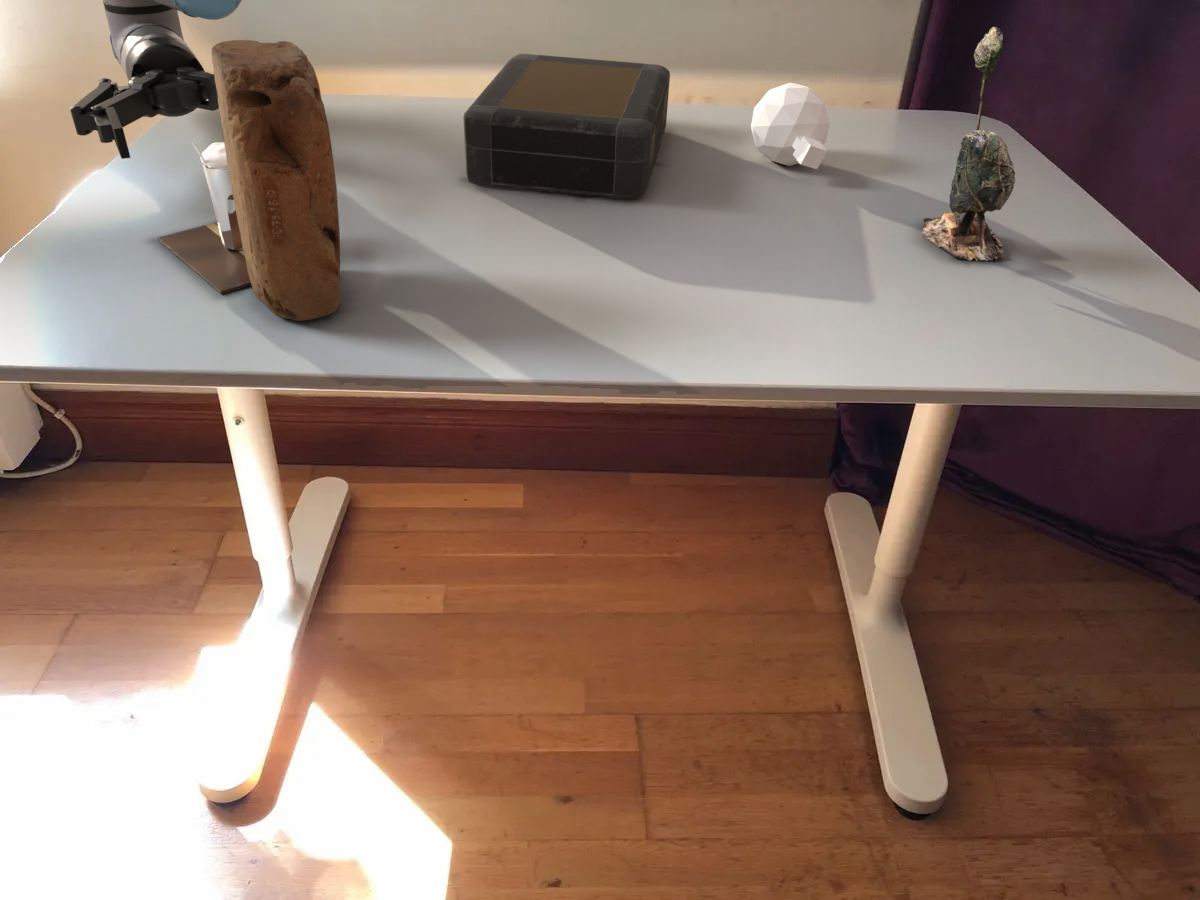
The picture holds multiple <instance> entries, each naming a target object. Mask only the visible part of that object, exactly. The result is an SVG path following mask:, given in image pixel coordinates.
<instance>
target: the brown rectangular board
mask: <svg viewBox="0 0 1200 900" xmlns="http://www.w3.org/2000/svg"><path fill="white" fill-rule="evenodd" d="M157 240H158V241H159V243H160V244H162V245H163V246H164V247H165V248H167V249H168V250H169V251H170V252H171V253H172V254H173V255H175V256H176V257H177V258H178V259H179V260H181V261H182V262H183V263H184V264H185V265H187V266H188V267H189V269H191V271H193V272H194V273H195V274H197V275H198V276H199V277H200V278H201V279H203V281H205V282H206V283H207V284H209V285H210V286H211V287H212V288H213V289H215V291H217V292H218V293H219V294H220V295H223V294H227V293H230V292H234V291H237V290H240V289H244V288H247V287H252V285H251V281H250V278H249V274H248V270H247V265H246V260H245V255H244V251H243V250H233V249H229V248H226V247H225V246H224V244H223V243H222V240H221V235H220V231H219V227H218V223H217V221H216V222H213V223H208V224H205V225H201V226H197V227H192V228H190V229H185V230H182V231H177V232H174V233H170V234H166V235H162V236H158V237H157Z"/></svg>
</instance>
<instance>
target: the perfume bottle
mask: <svg viewBox="0 0 1200 900" xmlns="http://www.w3.org/2000/svg"><path fill="white" fill-rule="evenodd" d="M830 125H831V121H830V116H829V112H828V107H827V104H826V101H825V99H824V98H822V97H821V96H820V95H819V94H817V93H816V91H815V90H813V89H812V88H811V86H810V87H809V86H806V85H802V84H798V83H794V82H789V83H788V82H787V83H785V84H782V85H779V86H777V87H773V88H771V89H768V91H767V92H766V93H765V94H764V95H763V97H762V98H761V99H760V101H759V102H757V104H756V105H755V106H754V108H753V112H752V119H751V124H750V128H751V133H752V137H753V138H752V139H753V142H754V146H755V149H756V150H757V151H758V152H760V153H761V154H762V155H763V156H765V157H766V158H767V159H768V160H770V161H772V162H775V163H777V164H781V165H784V166H787V167H792V166H795V165H800V166H804V167H808V168H811V169H814V170H818V169H819V167H820V165H821V164H822V161H823V160H824V158H825V156H826V154H827V153H828V149H827V148H826V147H825V146H824V145H825V143H826V142H827V138H828V134H829V131H830V130H829V129H830Z"/></svg>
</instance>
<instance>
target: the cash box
mask: <svg viewBox="0 0 1200 900" xmlns="http://www.w3.org/2000/svg"><path fill="white" fill-rule="evenodd" d="M670 80H671V71H670V70H669V69H668V68H666V67H665V66H663V65H661V64H656V63H655V64H654V63H653V64H652V63H644V62H643V63H642V62H630V61H617V60H607V59H593V58H580V57H569V56H557V55H547V54H546V55H545V54H544V55H543V54H531V53H519V54H516V55H514V56H512V57H511V58H510V59H509V60H508V61H507V62H506V63H505V64H504V66H503V67H502V68H501V70H499V72H498V73H497V74H496V76H494V77H493V79H492V80H491V81H490V82H489V84H488V85H487V86H486V87H485V88H484V89H483V90H482V91H481V93H480V94H479V96H478V97H476V99H475V100H474V101H473V102H472V104H471V105H470V106H468V109H467V110H466V111H465V112H464V113H463V133H464V134H463V136H464V153H465V154H464V157H465V158H464V159H465V172H466V173H465V175H466V178H467V181H468V182H470V183H471V184H474V185H476V186H477V185H478V186H484V187H494V188H504V189H514V190H524V191H533V192H534V191H535V192H544V193H545V192H546V193H555V194H567V195H576V196H586V197H587V196H588V197H597V198H607V199H618V200H628V201H629V200H637V199H641V198H642V197H644V196H645V195H646V193H647V190H648V187H649V184H650V181H651V177H652V174H653V170H654V167H655V163H656V160H657V158H658V153H659V151H660V147H661V143H662V140H663V136H664V133H665V131H666V127H667V117H668V107H669V106H668V104H669V92H670V82H671V81H670Z"/></svg>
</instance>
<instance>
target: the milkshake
mask: <svg viewBox="0 0 1200 900" xmlns="http://www.w3.org/2000/svg"><path fill="white" fill-rule="evenodd" d="M191 144H192V146H193V147H194V149H195V151H196V152H197V154H198V156H199V157H200V159H199V160H200V162H201V166H202V169H203V172H204V176H205V181H206V183H207V187H208V191H209V195H210V200H211V201H212V207H213V210H214V214H215V219H216V222H217V223H218V227H219V231H220V235H221V240H222V243H223V244H224V246H225V247H226V248H229V249H233V250H243V246H242V241H241V235H240V230H239V225H238V219H237V214H236V209H235V203H234V197H233V192H232V186H231V181H230V175H229V169H228V163H227V158H226V151H225V144H224V141H223V142H213V143H211V144H210V145H208V147H207V148H206V149H204V150H203V151H202V153H201V150H200V149H199V148H198V146H197V145H196V143H195V142H194V141H191Z"/></svg>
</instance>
